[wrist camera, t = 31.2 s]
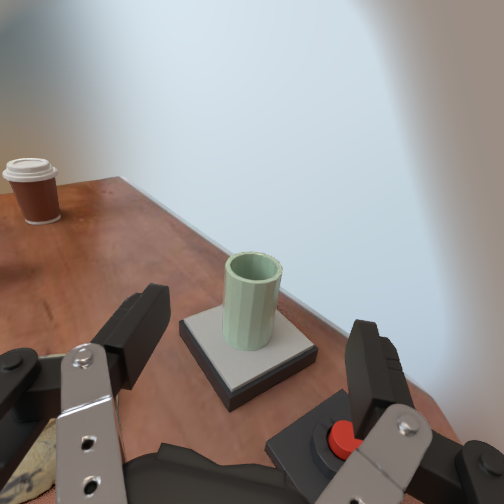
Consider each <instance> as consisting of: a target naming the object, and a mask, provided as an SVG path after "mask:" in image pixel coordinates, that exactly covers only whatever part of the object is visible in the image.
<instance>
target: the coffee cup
mask: <svg viewBox="0 0 504 504" xmlns="http://www.w3.org/2000/svg"><path fill="white" fill-rule="evenodd" d="M57 174H58V172H57V169H56V168H54V167H52V166H51V165H50V163H49V162H48V161H47V160H44V159H39V158H25V159H17V160H13V161H10V162H8V163H7V169H6V170H5V171H4V172H3V177H4V178H5V179H6V180H9V182H10V184H11V187H12V189H13V191H14V194H15V196H16V198H17V201H18V203H19V206H20V208H21V210H22V213H23V215H24V217H25V220H26V222H27V223H29V224H34V225H42V224H49V223H53V222H55V221H57V220H59V219H60V217H61V215H60V209H59V202H58V195H57V188H56V181H55V176H57Z"/></svg>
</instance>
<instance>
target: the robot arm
mask: <svg viewBox="0 0 504 504" xmlns="http://www.w3.org/2000/svg"><path fill="white" fill-rule="evenodd" d="M170 316H171V309H170V295H169V287H168V286H165V285H159V284H153V283H150V284H149V285H148V286H147V287H146V289H145V290H144V291H143V293H135V294H133V295H132V296H130V297H129V298H127V299H126V300H125V301H124V302H123V303H122V304H121V306H120V307H119V309H118V310H116V312H115V313H114V314H113V317H111V318H110V319H109V320H108V321H107V323H106V324H105V325H104V326H103V327H102V329H101V330H100V331H99V332H98V334H97V335H96V336H95V337H94V338H93V340H92V341H91V342H90V343H89V344H83V345H80V346H77V347H75V348H73V349H72V350H70V351H69V352H68V353H67V354H66V355H65V356H59V357H47V358H39V357H38V355H37V353H36V351H35V350H33V349H31V348H17V349H13V350H10V351H8V352H6V353H4V354H2V355H0V492H1V491H2V489H3V488H4V486H5V485H6V483H7V482H8V481H9V479H10V478H11V476H12V475H13V473H14V472H15V470H16V469H17V467H18V466H19V465H20V463H21V462H22V460H23V459H24V457H25V456H26V454H27V453H28V451H29V450H30V449H31V447H32V446H33V444H34V443H35V441H36V440H37V438H38V437H39V435H40V434H41V433H42V431H43V430H44V428H45V427H46V425H47V424H48V422H49V421H50V419H54V418H57V419H56V500H55V504H311V502H310V501H309V500H308V499H307V498H306V496H305V495H303V494H302V493H301V492H300V491H299V490H298V489H297V488H295V487H294V486H293V485H291V484H290V483H288V482H286V471H285V470H281V469H277V468H272V467H268V466H263V465H259V464H240V465H225V466H222V465H218V464H216V463H215V462H213V461H211V460H209V459H208V458H206V457H204V456H202V455H201V454H199V453H197V452H195V451H194V450H192V449H188V448H184V447H179V446H175V445H170V444H166V443H161V445H160V448H159V450H158V452H156V453H150V454H145V455H142V456H139V457H137V458H134V459H132V460H130V461H128V462H127V457H126V452H125V447H124V442H123V436H122V429H121V423H120V417H119V411H118V405H117V399H116V396H117V394H118V393H119V391H120V389H121V388H122V389H127V390H132V388H133V386H134V384H135V383H136V381H137V379H138V377H139V376H140V374H141V372H142V370H143V369H144V367H145V365H146V363H147V361H148V360H149V358H150V356H151V354H152V353H153V351H154V349H155V347H156V346H157V344H158V342H159V340H160V339H161V337H162V335H163V333H164V332H165V330H166V328H167V326H168V324H169V321H170ZM345 365H346V374H347V382H348V390H349V399H350V407H351V415H352V424H353V432H354V439H359V440H364V441H363V442H362V444H361V445H360V446H359V447H358V449H357V448H356V449H355V450H354V451H353V452H352V453H351V455H350V456H349V457H348V459H347V460H346V462H345V463H344V464H343V466H342V467H341V468H340V470H339V471H338V472H337V474H336V475H335V476H334V478H333V479H332V480H331V482H330V483H329V484H328V486H327V487H326V488H325V490H324V491H323V493H322V494H321V495H320V497H319V498H318V499H317V501H316V502H315V503H314V504H401V502H402V500H403V498H404V496H405V493H407V494H409V495H411V496H412V497H414V498H416V499H417V500H419V501H421V502H423V503H424V504H504V455H503V454H502V453H501V452H500V451H499V450H497V449H496V448H494V447H493V446H491V445H489V444H487V443H485V442H482V441H477V440H472V441H468V442H467V443H465V445H464V446H462V445H460V444H458V443H456V442H454V441H452V440H450V439H448V438H446V437H444V436H442V435H440V434H438V433H436V432H435V431H433V430H432V429H431V427H430V425H429V423H428V422H427V420H426V419H425V418H424V417H423V416H422V415H421V414H420V413H419V412H418V411H416V410H415V408H414V405H413V401H412V398H411V395H410V392H409V389H408V385H407V382H406V379H405V376H404V372H402V366H401V363H400V362H399V356H398V353H397V350H396V348H395V347H394V345H393V344H392V343H391V341H390V340H389V339H388V338H386V337H380V336H379V333H378V329H377V325H376V323H375V322H370V321H364V320H358V319H357V320H355V322H354V324H353V327H352V330H351V333H350V336H349V339H348V342H347V345H346V349H345Z"/></svg>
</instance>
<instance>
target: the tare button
mask: <svg viewBox="0 0 504 504" xmlns="http://www.w3.org/2000/svg"><path fill="white" fill-rule="evenodd" d="M362 442H363V440H359V439H354V432H353V424H352V423H351V422H349V421H345V420H341V421H338V422H336V423H335V424H334V425H333V427H332V430H331V432H330V435H329V445H330V448H331V450H332V451H333V453H334V454H335V455H336V456H337V457H339V458H341V459H343V460H347V459H348V457H349V456H350V455H351V453H352V452H353V451H354V450H355V449H356V448H357V449H358V447H359V446H360V445H361V444H362Z"/></svg>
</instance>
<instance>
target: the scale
mask: <svg viewBox="0 0 504 504" xmlns="http://www.w3.org/2000/svg"><path fill="white" fill-rule="evenodd" d="M222 314H223V305H220V306H217V307H215V308H212V309H209V310H207V311H204V312H201V313H198V314H196V315H193V316H190V317H187V318H185V319H184V320H181V321H179V334H180V336H181V337H182V339H183V340H184V342H185V344H186V345H187V347H188V348H189V350H190V351H191V353H192V355H193V356H194V358H195V359H196V361H197V363H198V364H199V366H200V367H201V369H202V370H203V372H204V374H205V375H206V377H207V378H208V380H209V382H210V383H211V385H212V386H213V388H214V389H215V391H216V393H217V394H218V396H219V397H220V399H221V400H222V402H223V404H224V405H225V407H226V408H227V410H228V412H230V411H232V410H234V409H235V408H237V407H239V406H240V405H242V404H244V403H246V402H247V401H249V400H251V399H252V398H254V397H256V396H257V395H259V394H261V393H263V392H264V391H266V390H268V389H269V388H271V387H273V386H275V385H276V384H278V383H280V382H281V381H283V380H285V379H286V378H288V377H290V376H292V375H293V374H295V373H297V372H298V371H300V370H302V369H303V368H305V367H307V366H309V365H310V364H312V363H314V362H315V360H316V356H317V353H318V348H317V347H316V346H315V345H314V344H313V343H312V342H311V341H310V340H309V339H308V338H306V337H305V336H304V335H303V334H302V333H301V332H300V331H299V330H298V329H297V328H296V327H295V326H294V325H293V324H292V323H291V322H290V321H289V320H287V319H286V318H285V317H284V316H283V315H282V314H281V313H280V312H279V311H278V310H277V309H276V311H275V317H274V323H273V329H272V335H271V339H270V341H269V342H268V343H267V344H266V345H265V346H264V347H262V348H260V349H258V350H253V351H244V350H239V349H236V348H234V347H232V346H231V345H229V344H228V343H227V342H226V341H225V339H224V337H223V335H222Z"/></svg>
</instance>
